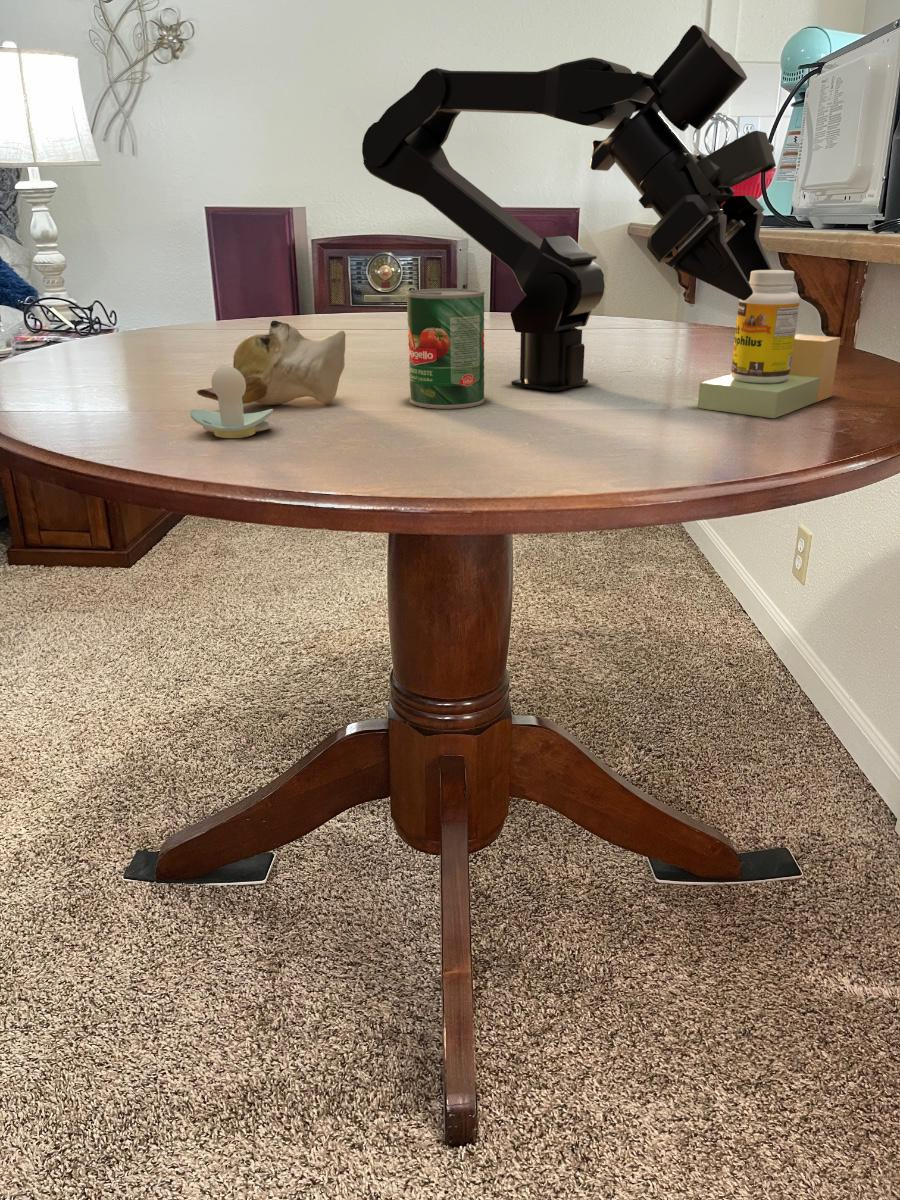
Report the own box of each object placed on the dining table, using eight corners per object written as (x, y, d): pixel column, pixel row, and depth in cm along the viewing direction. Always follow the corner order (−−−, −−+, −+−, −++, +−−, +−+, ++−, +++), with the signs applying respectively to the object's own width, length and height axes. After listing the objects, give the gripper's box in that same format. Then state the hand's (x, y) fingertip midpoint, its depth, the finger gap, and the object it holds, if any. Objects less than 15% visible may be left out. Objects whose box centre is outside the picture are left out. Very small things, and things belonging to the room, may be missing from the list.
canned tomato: (497, 397, 95) (498, 289, 91) (463, 411, 89) (462, 295, 84) (432, 392, 98) (430, 287, 94) (395, 405, 92) (391, 293, 88)
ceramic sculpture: (339, 320, 85) (183, 333, 85) (349, 410, 89) (200, 422, 89) (346, 310, 95) (207, 321, 95) (356, 391, 99) (221, 402, 99)
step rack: (697, 408, 89) (703, 346, 86) (758, 388, 98) (765, 331, 96) (774, 418, 84) (783, 353, 81) (831, 396, 93) (840, 337, 91)
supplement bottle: (718, 377, 90) (729, 270, 86) (763, 373, 92) (776, 268, 88) (754, 386, 85) (767, 273, 81) (801, 382, 87) (816, 271, 83)
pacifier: (205, 428, 84) (187, 441, 78) (198, 360, 82) (179, 368, 76) (282, 427, 84) (270, 440, 78) (277, 359, 82) (263, 367, 76)
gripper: (694, 89, 74) (811, 232, 73) (754, 107, 89) (853, 227, 88) (601, 194, 81) (707, 325, 80) (671, 195, 96) (761, 307, 95)
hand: (762, 293), depth 86 cm, fingers open, 9 cm apart
